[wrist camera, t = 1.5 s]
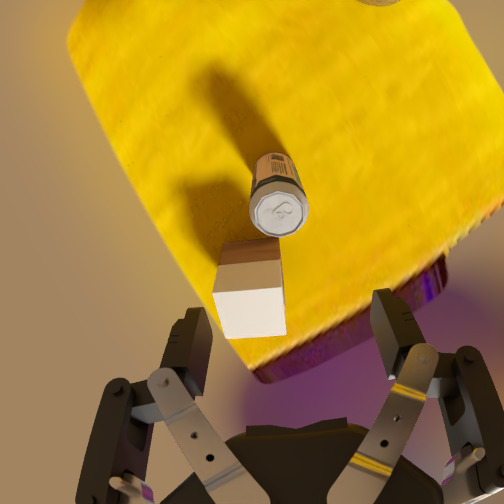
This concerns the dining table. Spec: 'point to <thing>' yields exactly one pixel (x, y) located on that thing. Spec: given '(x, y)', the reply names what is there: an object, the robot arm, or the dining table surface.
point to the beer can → (277, 196)
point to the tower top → (250, 299)
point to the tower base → (252, 252)
